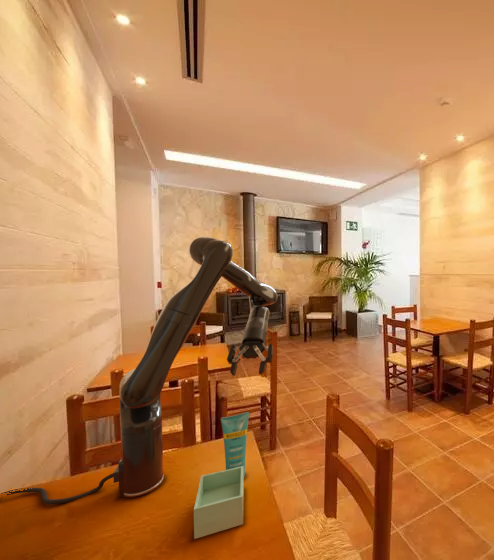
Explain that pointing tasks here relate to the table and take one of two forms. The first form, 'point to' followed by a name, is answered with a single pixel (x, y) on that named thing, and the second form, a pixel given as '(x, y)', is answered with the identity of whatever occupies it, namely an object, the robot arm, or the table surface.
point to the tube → (235, 440)
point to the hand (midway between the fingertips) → (246, 374)
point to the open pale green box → (219, 502)
